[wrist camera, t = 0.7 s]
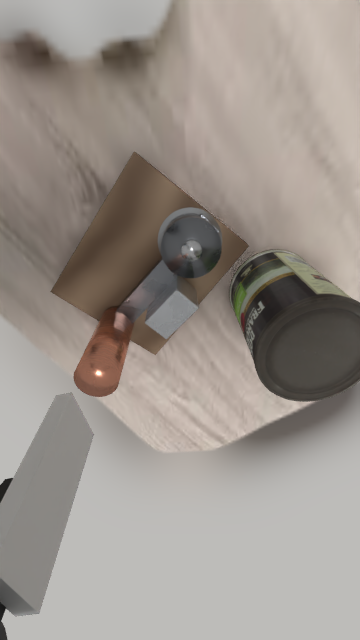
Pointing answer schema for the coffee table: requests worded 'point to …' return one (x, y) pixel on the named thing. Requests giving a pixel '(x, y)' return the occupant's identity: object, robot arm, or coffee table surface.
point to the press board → (135, 247)
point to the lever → (151, 301)
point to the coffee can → (297, 327)
